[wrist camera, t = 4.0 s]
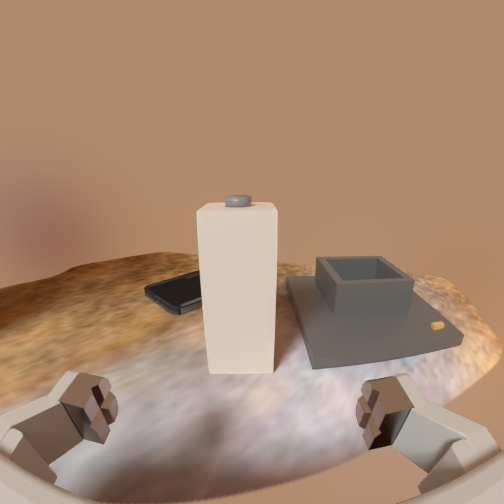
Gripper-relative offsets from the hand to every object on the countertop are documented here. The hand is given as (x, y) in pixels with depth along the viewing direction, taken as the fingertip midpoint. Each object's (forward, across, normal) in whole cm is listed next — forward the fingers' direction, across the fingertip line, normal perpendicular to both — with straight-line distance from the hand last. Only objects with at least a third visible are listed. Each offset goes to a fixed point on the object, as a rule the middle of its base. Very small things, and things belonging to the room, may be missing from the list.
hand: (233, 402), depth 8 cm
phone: (+25, -4, -7) cm, 27 cm away
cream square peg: (+11, 0, -6) cm, 13 cm away
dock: (+17, +12, -6) cm, 22 cm away
